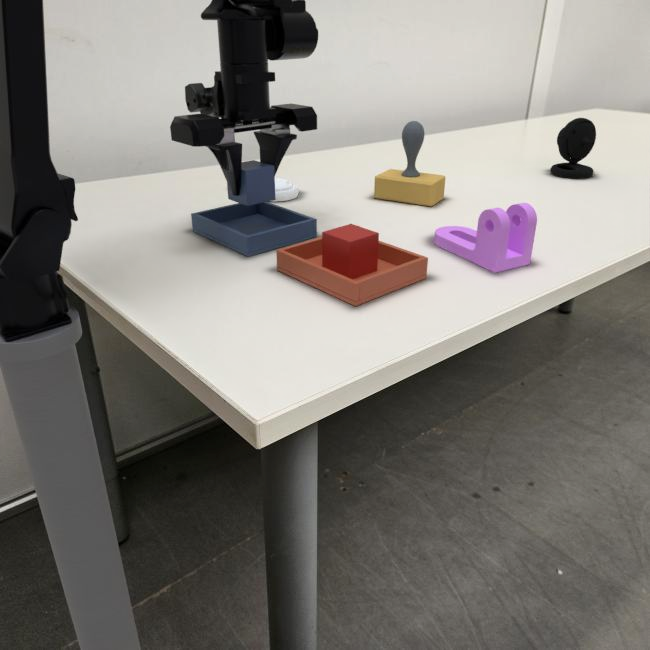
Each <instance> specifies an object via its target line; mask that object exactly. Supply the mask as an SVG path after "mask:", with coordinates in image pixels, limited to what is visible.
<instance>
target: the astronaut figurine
mask: <svg viewBox="0 0 650 650" xmlns="http://www.w3.org/2000/svg"><path fill="white" fill-rule="evenodd" d="M299 193H300V189H299V186H297V185H295V184H294V183H293V182H291V181H289V180H287V179H285V178H279V177H275V200H273V201H272V202H286V201H290V200H294V199H296V198H297V197H298V196H299Z"/></svg>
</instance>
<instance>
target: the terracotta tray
mask: <svg viewBox="0 0 650 650" xmlns="http://www.w3.org/2000/svg"><path fill="white" fill-rule="evenodd" d="M275 250H276V251H275V253H276V270H277V271H278V272H280V273H283V274H285V275H287V276H289V277H291V278H293V279H295V280H298V281H299V282H302V283H304V284H306V285H308V286H310V287H313V288H315V289H317V290H319V291H321V292H324V293H326V294H327V295H330V296H332V297H334V298H337V299H338V300H341V301H343V302H344V303H348V304H350V305H352V306H354V307H357V306H360V305H362V304H365V303H367V302H370V301H372V300H376V299H377V298H380V297H382V296H385V295H388V294H390V293H392V292H393V293H394V292H395V291H398V290H401V289H402V288H405V287H407V286H410V285H412V284H415V283H418V282H420V281H423V280H426V279H427V277H428V263H429V256H428V257H427V256H425V255H421V254H419V253H416V252H413V251H410V250H407V249H404V248H401V247H399V246H396V245H393V244H390V243H387V242H385V241H382V240H379V242H378V266H377V271H375V272H372V273H369V274H366V275H363V276H361V277H358V278H355V279H350V278H348V277H345V276H343V275H341V274H338V273H336V272H333V271H331V270H329V269H326V268H324V267H322V236H320V237H315V238H312V239H308V240H305V241H301V242H298V243H294V244H291V245H287V246H284V247H281V248H277V249H275Z"/></svg>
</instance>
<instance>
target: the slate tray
mask: <svg viewBox="0 0 650 650" xmlns="http://www.w3.org/2000/svg"><path fill="white" fill-rule="evenodd" d="M190 218H191V227H192V232H193V233H196V234H198V235H200V236H202V237H205V238H207V239H209V240H211V241H213V242H216V243H218V244H220V245H221V246H224V247H226V248H228V249H230V250H232V251H235V252H237V253H239V254H242V255H244V256H246V257H252V256H255V255H259V254H262V253H265V252H269V251H273V250H277V249H281V248H284V247H288V246H291V245H295V244H298V243H302V242H305V241H309V240H312V239H316V238H318V221H317V220H318V219H317V218H315V217H312V216H309V215H306V214H303V213H300V212H297V211H294V210H292V209H289V208H286V207H284V206H280V205H278V204H276V203H275V204H274V203H272V202H270V201H268V202H264V203H259V204H255V205H251V206H246V205H243V204H241V203H238V202H236V203H232V204H228V205H223V206H219V207H215V208H210V209H205V210H200V211H197V212H192V213H190Z"/></svg>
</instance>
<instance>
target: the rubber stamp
mask: <svg viewBox="0 0 650 650" xmlns="http://www.w3.org/2000/svg"><path fill="white" fill-rule="evenodd" d="M424 141H425V129H424V126H423V124H421V122H419V121H417V120H411V121H408V122H407V123H406V124H405V125H404V126H403V128H402V132H401V142H402V147H403V149H404V152H405V156H406V162H407V163H406V168H405V169H404V170H403V169H395V168H389V169H387V170H385V171H383V172H381V173H379V174H377V175H375V176H374V186H373V187H374V189H373V193H374V194H373V198H374V199H377V200H385V201H391V202H398V203H404V204H411V205H418V206H424V207H433V206H435V205H436V204H437V203H439V202H440V201H442V200H444V199H445V197H444V196H445V190H446V189H445V187H446V175H443V174H435V173H429V172H428V173H427V172H419V171H418V169H417V168H416V162H417V158H418V155H419V153H420V151H421V148H422V147H423V144H424Z"/></svg>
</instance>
